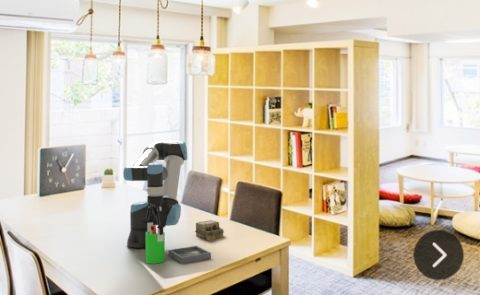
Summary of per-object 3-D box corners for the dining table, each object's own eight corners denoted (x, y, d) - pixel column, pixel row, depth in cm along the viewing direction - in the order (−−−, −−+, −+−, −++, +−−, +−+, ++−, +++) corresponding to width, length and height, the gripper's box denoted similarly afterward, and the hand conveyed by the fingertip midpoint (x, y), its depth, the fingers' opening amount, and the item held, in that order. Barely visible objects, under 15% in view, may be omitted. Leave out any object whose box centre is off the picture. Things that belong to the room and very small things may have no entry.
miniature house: (190, 242, 238) (190, 222, 238) (209, 238, 247) (209, 219, 247) (206, 247, 227) (206, 226, 227) (226, 243, 236) (226, 223, 236)
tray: (168, 255, 210) (168, 250, 210) (196, 251, 218) (196, 245, 218) (181, 263, 196) (181, 257, 196) (210, 258, 205) (210, 252, 205)
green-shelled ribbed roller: (165, 258, 204) (165, 223, 204) (163, 263, 196) (162, 226, 196) (147, 259, 204) (147, 223, 204) (143, 263, 196) (143, 226, 196)
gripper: (139, 192, 208) (139, 234, 209) (157, 198, 187) (157, 244, 188) (153, 191, 212) (153, 232, 213) (172, 197, 191) (172, 242, 192)
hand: (155, 238), depth 200 cm, fingers open, 13 cm apart
